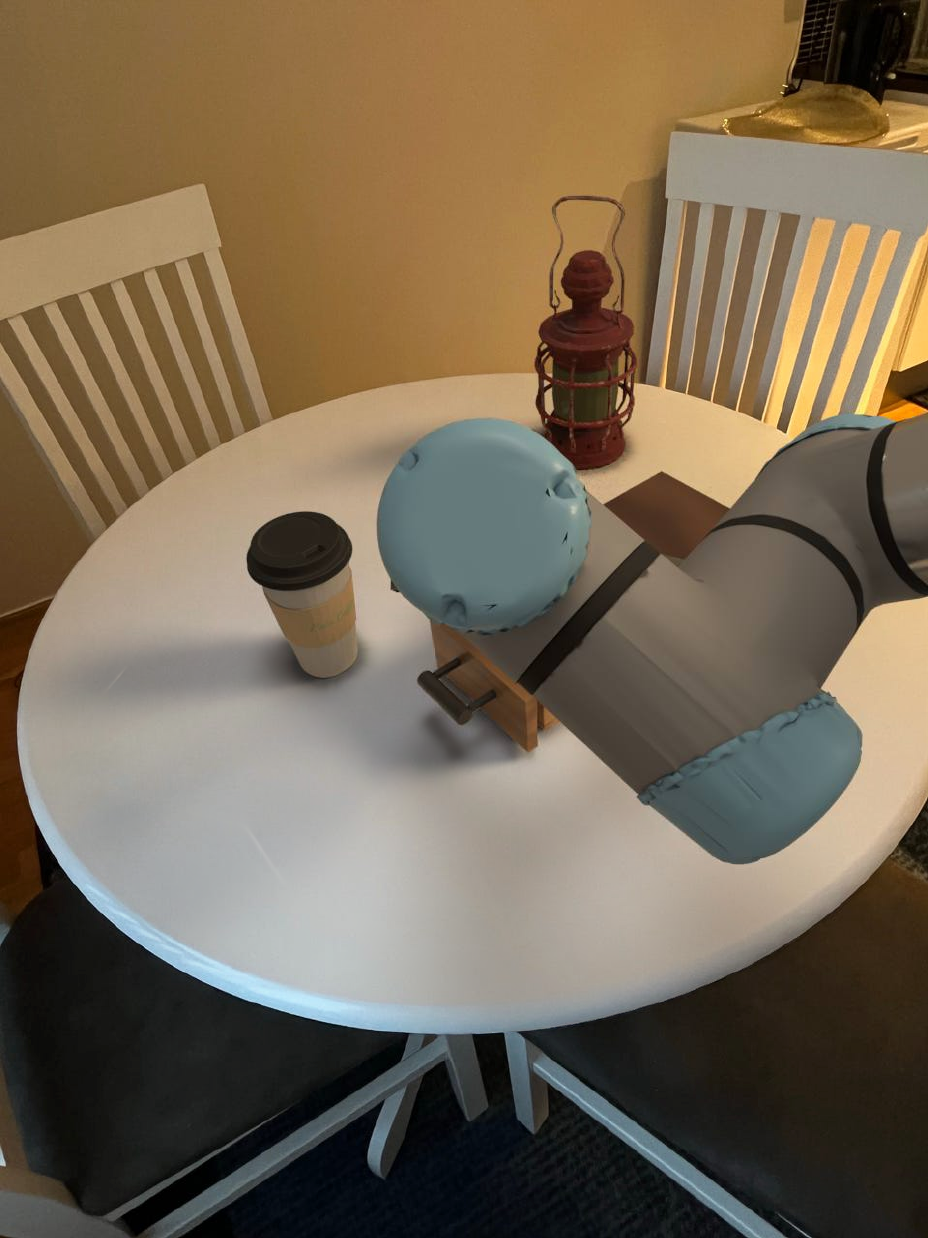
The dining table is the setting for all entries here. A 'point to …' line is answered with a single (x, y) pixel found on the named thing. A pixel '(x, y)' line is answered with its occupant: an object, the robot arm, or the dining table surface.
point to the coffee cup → (308, 588)
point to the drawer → (482, 689)
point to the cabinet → (668, 514)
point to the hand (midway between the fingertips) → (544, 583)
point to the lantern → (586, 360)
